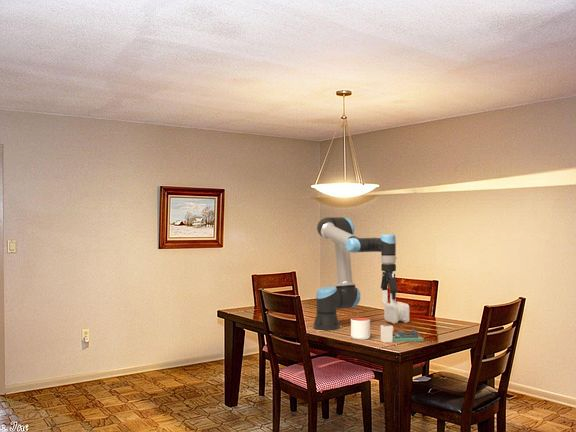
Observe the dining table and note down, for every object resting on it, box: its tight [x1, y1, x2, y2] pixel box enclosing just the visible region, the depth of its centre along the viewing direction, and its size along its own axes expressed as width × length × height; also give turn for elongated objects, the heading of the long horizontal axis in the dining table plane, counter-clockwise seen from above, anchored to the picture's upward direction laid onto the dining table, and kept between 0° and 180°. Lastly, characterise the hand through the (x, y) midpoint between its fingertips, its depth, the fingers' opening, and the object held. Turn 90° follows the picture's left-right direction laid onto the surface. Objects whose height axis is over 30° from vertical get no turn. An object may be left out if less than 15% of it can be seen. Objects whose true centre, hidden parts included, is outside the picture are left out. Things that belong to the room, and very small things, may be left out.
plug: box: [380, 324, 394, 343], centre depth 287 cm, size 6×4×8 cm
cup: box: [350, 317, 371, 341], centre depth 294 cm, size 10×10×10 cm
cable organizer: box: [383, 301, 410, 325], centre depth 342 cm, size 15×11×12 cm
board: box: [392, 328, 425, 343], centre depth 293 cm, size 16×14×4 cm
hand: (389, 304), depth 292 cm, fingers open, 13 cm apart
